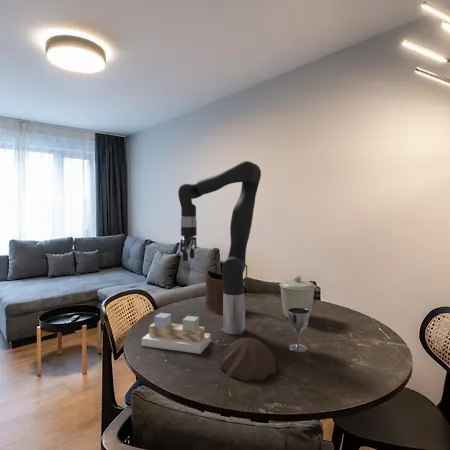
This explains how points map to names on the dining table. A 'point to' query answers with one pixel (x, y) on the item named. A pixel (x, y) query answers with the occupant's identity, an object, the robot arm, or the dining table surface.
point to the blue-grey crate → (162, 320)
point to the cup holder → (215, 292)
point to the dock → (177, 343)
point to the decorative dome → (248, 360)
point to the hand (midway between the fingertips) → (188, 259)
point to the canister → (297, 294)
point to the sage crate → (190, 323)
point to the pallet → (177, 332)
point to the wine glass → (298, 325)
